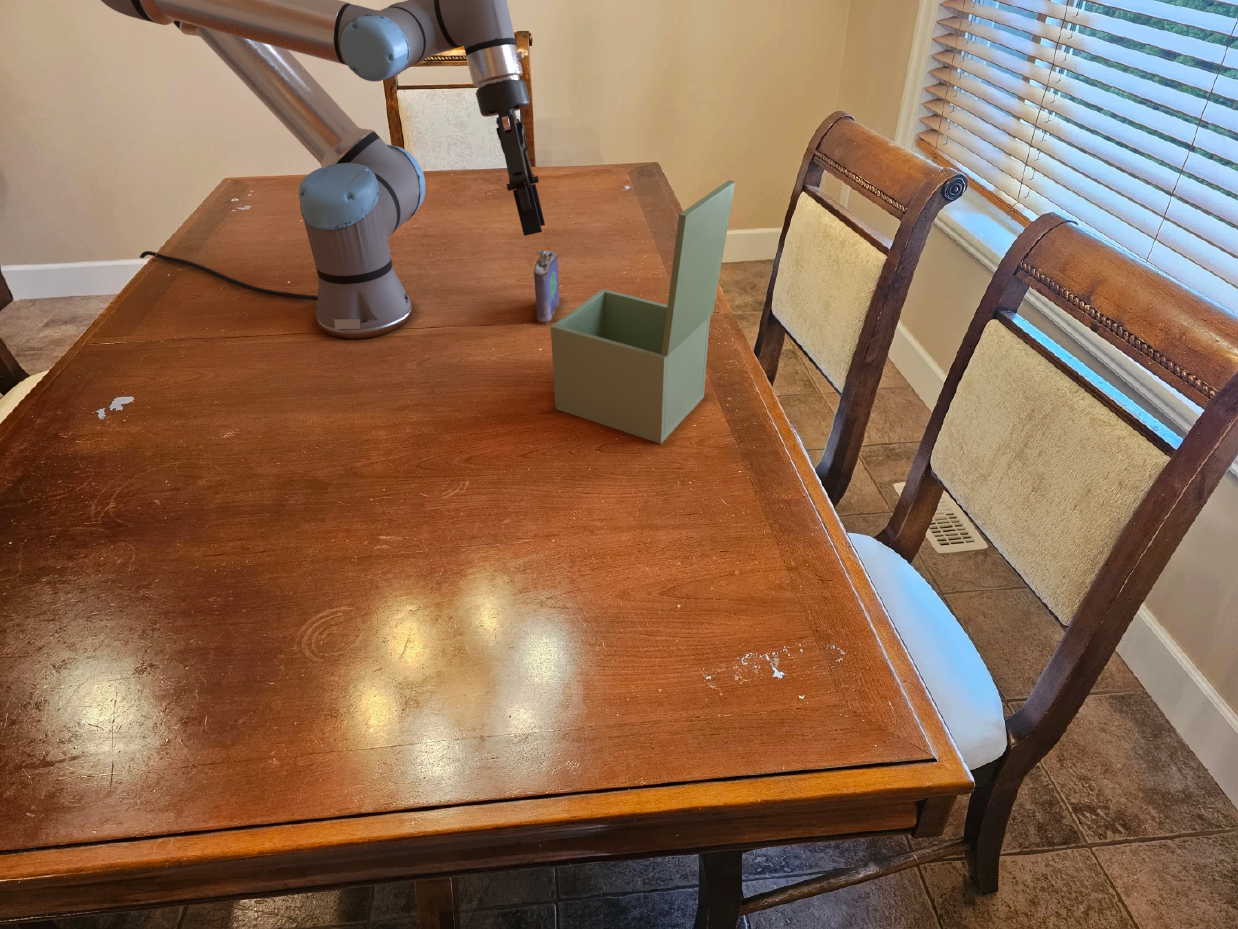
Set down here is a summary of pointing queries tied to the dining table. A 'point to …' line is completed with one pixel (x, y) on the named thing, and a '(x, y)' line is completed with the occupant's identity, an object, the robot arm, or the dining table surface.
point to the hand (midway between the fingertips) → (535, 230)
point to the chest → (626, 366)
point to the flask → (546, 285)
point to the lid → (697, 265)
